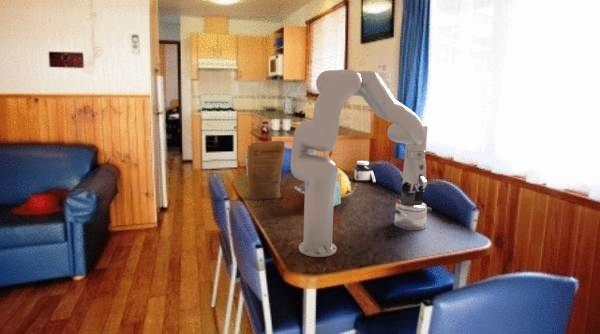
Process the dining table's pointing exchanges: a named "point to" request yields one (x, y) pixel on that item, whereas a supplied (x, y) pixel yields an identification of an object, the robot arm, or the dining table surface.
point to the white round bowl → (410, 202)
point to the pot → (410, 218)
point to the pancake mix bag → (264, 169)
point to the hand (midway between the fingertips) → (411, 197)
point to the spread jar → (363, 172)
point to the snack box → (336, 192)
